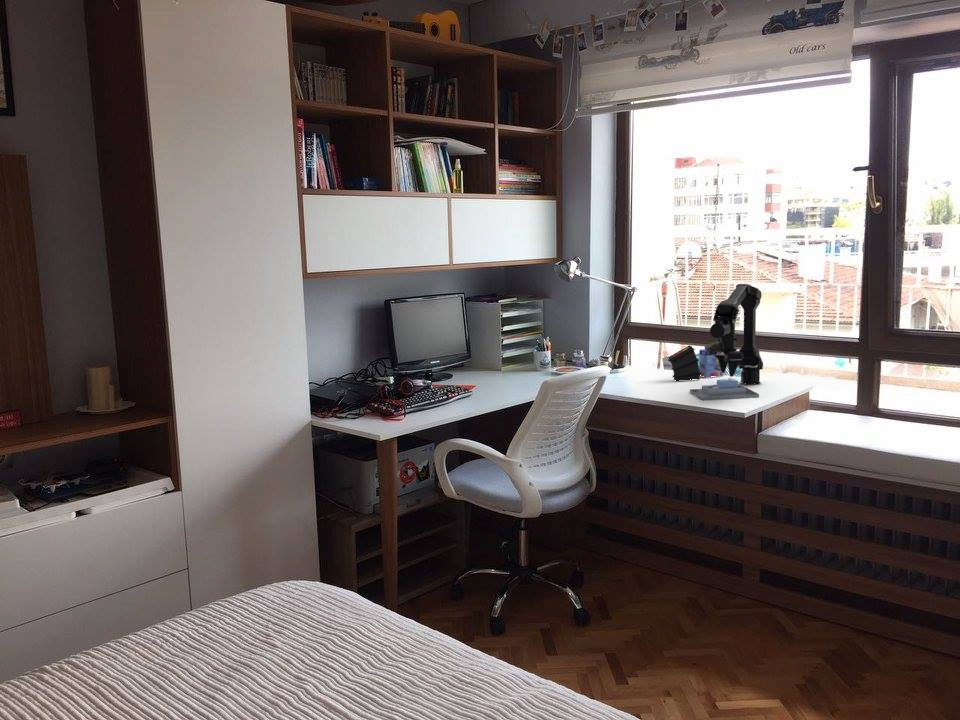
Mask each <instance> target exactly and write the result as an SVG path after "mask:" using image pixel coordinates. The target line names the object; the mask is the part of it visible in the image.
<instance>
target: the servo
mask: <svg viewBox="0 0 960 720" xmlns="http://www.w3.org/2000/svg"><path fill="white" fill-rule="evenodd" d="M738 384H739V380H738V379H735V378H734V377H728V378H726V379H716V385H717V387H713V388H718V389H721V388H738Z"/></svg>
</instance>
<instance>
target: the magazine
mask: <svg viewBox="0 0 960 720" xmlns="http://www.w3.org/2000/svg"><path fill="white" fill-rule="evenodd" d="M667 358H668V362H669V363H670V364H671V370H673V375H672V378H673V381H674V380H676V381H679V380H690V379H691V380H692V379H701V377H700V374H701V372H700V371H699V359H698V358H697V355H696V352H695V348H694V347H693V346H692V345H687V346H686V347H684V348H682V349H681V350H678V351H676V352H675V353H673V354H671V355H670V356H668V357H667ZM676 381H675V382H676ZM679 382H680V381H679Z"/></svg>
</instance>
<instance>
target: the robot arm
mask: <svg viewBox="0 0 960 720" xmlns="http://www.w3.org/2000/svg"><path fill="white" fill-rule="evenodd" d="M762 295H763V294H762V291H761V289H759V288H758V287H755V286H752V285H751V284H749V283H738V284H736V286H735V289H733V291H732V293H730V295H729V297H728V298H727V299H724V300H722V301H720V302H719V303H718V304H717V306H716V309H715V313H714V316H713V322H714V323H713V324H712V325H711V326H710V328H709V333H710V335H711V336H712V337H713V338H715V339H716V340H717V341H714V342H712V343H709V344H707V345H705V346H704V349H705V350H706V353H707V354H709V355H713V354H715V355H714V356H715V357H716V358H717V359H718V361H719V365H720V368H721V372H722V373H725V372H726V370H727V367H728V373H729V378H734V375H735V373H736V371H737V369H738V368H739V369H740V370H741V372H740V383H742V382H743V383H742V384H744V383H746V384H745V385H757V384H756V383H761V384H762V382H761V381H760V373H761V371H760V370H763V369H764V362H763V359H762V358H761V355H760V350H759V348H758V346H757V345H756V334H757V333H756V331H757V329H756V328H757V327H756V326H757V325H756V320H757V318H756V317H757V311H756V310H757V308H758V307H759V306H760V304H761V299H762ZM739 306H741V308H742V310H743V344H742V347H741V348H740V349H739V350H737V349H738V348H737V347H736V341H737V337H736V323H737V321H736V320H737V317H738V315H739V313H740V312H739V311H740V309H739ZM754 383H755V384H754Z"/></svg>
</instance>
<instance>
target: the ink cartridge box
mask: <svg viewBox="0 0 960 720" xmlns="http://www.w3.org/2000/svg"><path fill="white" fill-rule="evenodd" d="M698 351H699V355H698V357H699V359H698V360H699V361H698V365H699V371H700V372H701V374H700V375H701V376H704V377H711V376H721V377H724V373H722V372H721V368H720V365H719V361H718V359H717V358H716V357H715V356H714V355H715V354H713V355H709V354H707V353H706V350H705V348H701V349H699V350H698Z"/></svg>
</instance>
